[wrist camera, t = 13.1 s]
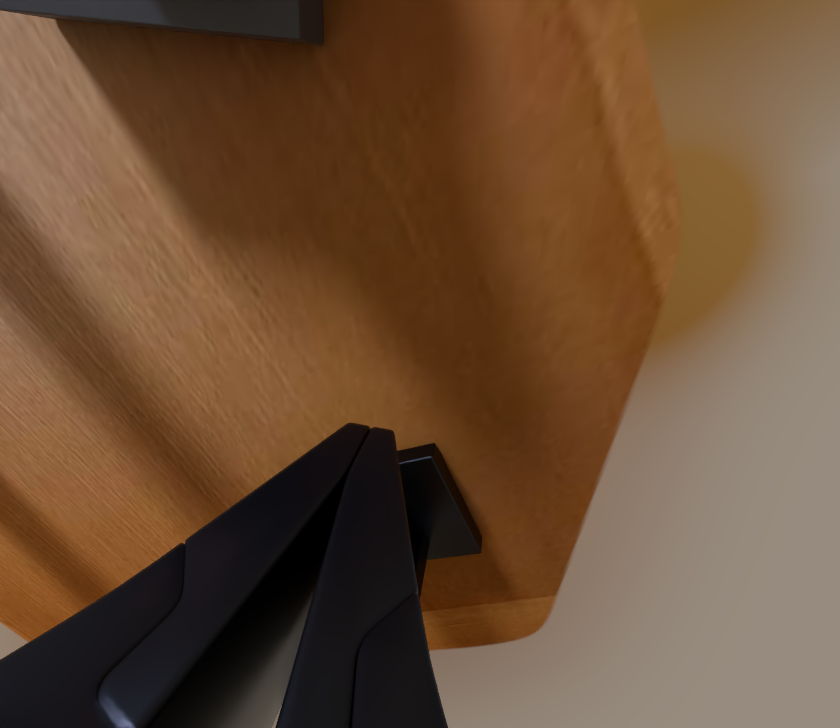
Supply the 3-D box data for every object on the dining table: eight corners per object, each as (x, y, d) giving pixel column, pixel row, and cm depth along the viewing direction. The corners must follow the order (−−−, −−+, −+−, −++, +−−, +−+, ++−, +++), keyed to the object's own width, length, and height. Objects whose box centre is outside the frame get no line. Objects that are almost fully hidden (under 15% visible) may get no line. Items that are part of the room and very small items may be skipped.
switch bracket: (347, 555, 32) (281, 742, 23) (289, 473, 28) (185, 654, 19) (482, 537, 28) (469, 748, 19) (435, 442, 25) (391, 643, 16)
